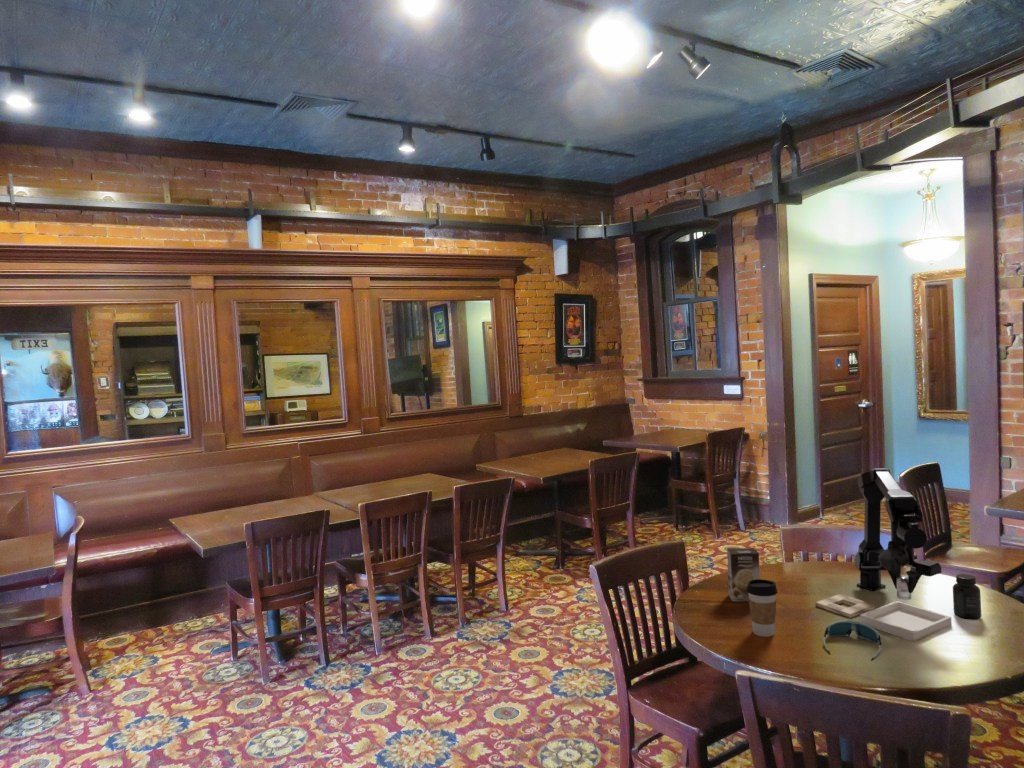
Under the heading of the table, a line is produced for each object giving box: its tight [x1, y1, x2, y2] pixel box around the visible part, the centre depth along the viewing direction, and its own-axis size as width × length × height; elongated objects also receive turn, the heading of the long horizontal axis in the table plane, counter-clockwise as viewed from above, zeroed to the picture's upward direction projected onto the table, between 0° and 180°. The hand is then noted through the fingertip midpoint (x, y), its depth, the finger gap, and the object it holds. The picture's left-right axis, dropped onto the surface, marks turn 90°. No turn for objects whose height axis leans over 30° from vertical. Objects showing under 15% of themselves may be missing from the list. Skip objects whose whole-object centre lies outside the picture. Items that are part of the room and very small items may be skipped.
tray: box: [859, 600, 953, 642], centre depth 199 cm, size 18×16×2 cm
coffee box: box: [726, 547, 761, 602], centre depth 226 cm, size 9×6×16 cm
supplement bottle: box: [952, 573, 982, 621], centre depth 202 cm, size 7×7×12 cm
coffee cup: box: [747, 578, 778, 638], centre depth 199 cm, size 8×8×15 cm
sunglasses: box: [822, 620, 882, 662], centre depth 187 cm, size 14×15×5 cm
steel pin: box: [896, 574, 912, 601], centre depth 199 cm, size 4×4×6 cm
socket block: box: [815, 593, 876, 619], centre depth 214 cm, size 12×12×1 cm
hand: (904, 590), depth 199 cm, fingers closed on steel pin, 4 cm apart
